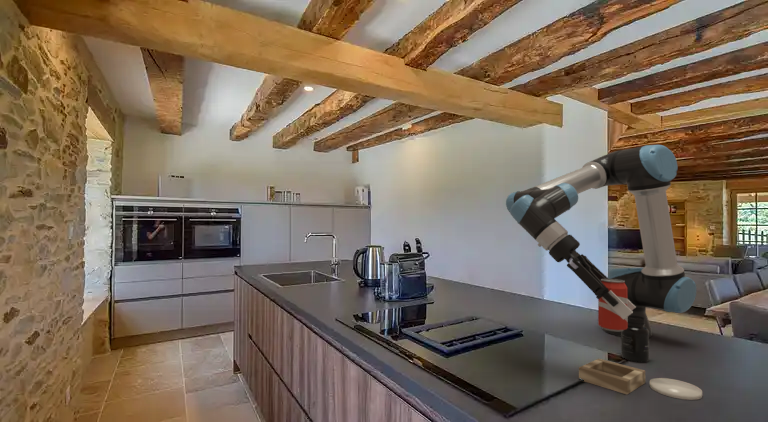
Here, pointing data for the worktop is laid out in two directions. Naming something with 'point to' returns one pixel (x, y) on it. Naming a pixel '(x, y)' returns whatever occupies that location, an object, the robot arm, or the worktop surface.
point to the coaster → (676, 388)
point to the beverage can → (605, 313)
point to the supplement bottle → (635, 340)
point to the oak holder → (612, 375)
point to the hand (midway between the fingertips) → (629, 313)
